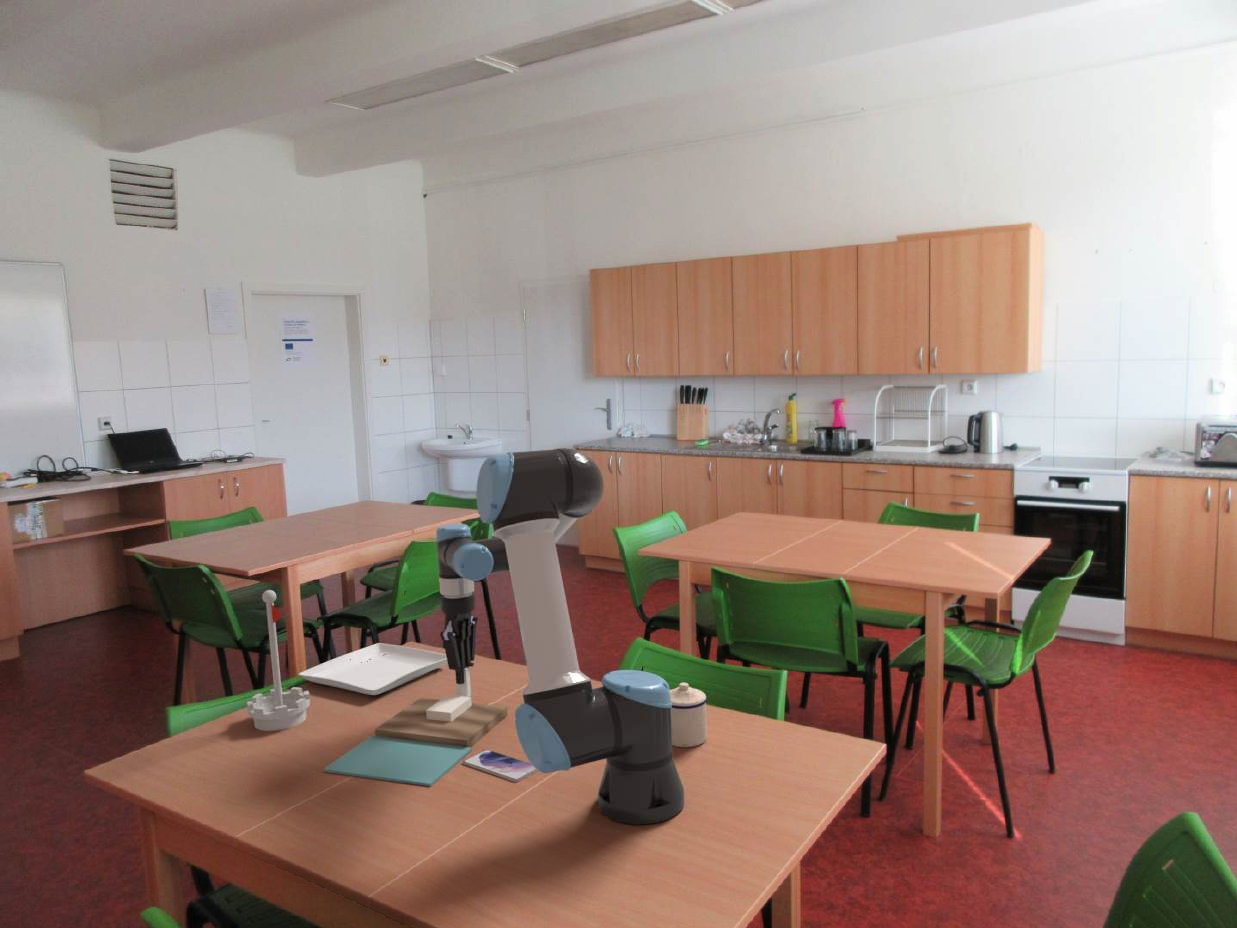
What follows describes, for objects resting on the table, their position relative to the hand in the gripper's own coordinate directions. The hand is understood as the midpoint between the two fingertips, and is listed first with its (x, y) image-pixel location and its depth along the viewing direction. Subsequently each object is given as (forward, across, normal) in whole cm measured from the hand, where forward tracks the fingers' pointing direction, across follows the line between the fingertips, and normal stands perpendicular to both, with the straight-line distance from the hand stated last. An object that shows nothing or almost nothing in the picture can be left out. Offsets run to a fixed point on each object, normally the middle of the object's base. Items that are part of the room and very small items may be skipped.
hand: (464, 695), depth 207 cm
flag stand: (+4, +16, -38) cm, 41 cm away
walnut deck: (+3, +10, 0) cm, 10 cm away
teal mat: (+3, +26, 0) cm, 27 cm away
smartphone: (+4, +23, +21) cm, 32 cm away
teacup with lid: (+4, +2, +51) cm, 51 cm away
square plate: (+4, -14, -33) cm, 36 cm away
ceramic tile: (+1, +6, 0) cm, 7 cm away
